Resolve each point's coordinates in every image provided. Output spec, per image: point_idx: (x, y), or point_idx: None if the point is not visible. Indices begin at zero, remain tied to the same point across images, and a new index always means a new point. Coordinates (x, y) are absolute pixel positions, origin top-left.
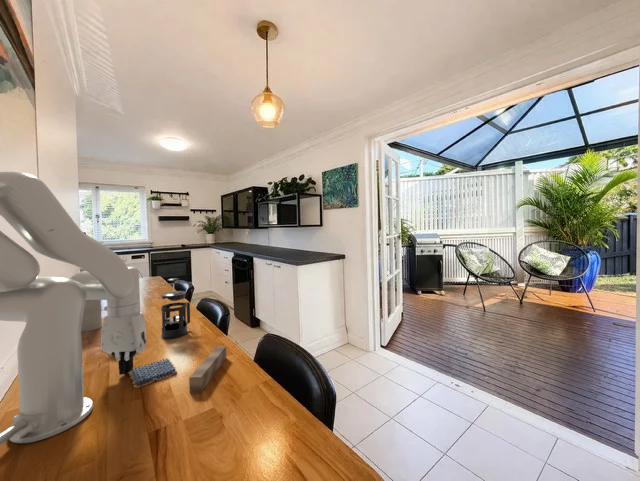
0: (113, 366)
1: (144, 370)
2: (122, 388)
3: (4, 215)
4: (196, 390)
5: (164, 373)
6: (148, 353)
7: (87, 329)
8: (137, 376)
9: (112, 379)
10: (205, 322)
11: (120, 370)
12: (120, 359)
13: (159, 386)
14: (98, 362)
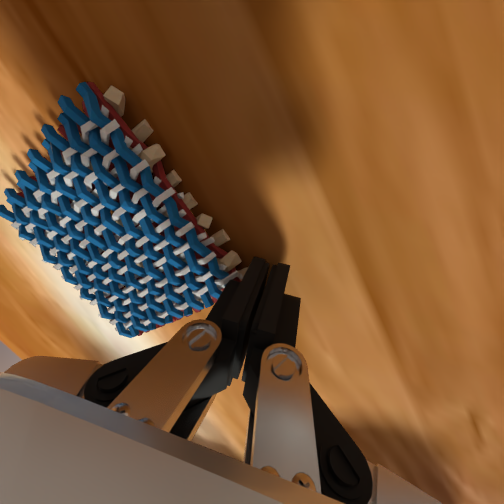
0: (386, 383)
1: (145, 250)
2: (200, 106)
3: None
4: None
5: (24, 188)
6: None
7: None
8: (142, 189)
9: (328, 247)
10: None
11: (277, 278)
12: (264, 353)
13: (5, 88)
14: (492, 450)
